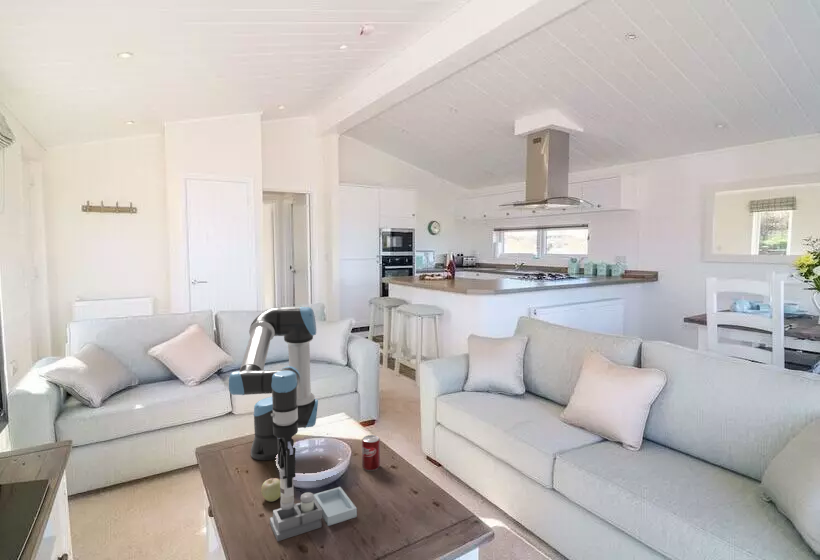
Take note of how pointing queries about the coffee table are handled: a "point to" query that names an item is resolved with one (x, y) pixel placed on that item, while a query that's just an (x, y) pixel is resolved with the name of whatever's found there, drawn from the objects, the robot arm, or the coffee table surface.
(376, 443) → the soda can
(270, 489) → the fruit
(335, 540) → the coffee table surface
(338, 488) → the tray
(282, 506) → the cylinder
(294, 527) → the block
